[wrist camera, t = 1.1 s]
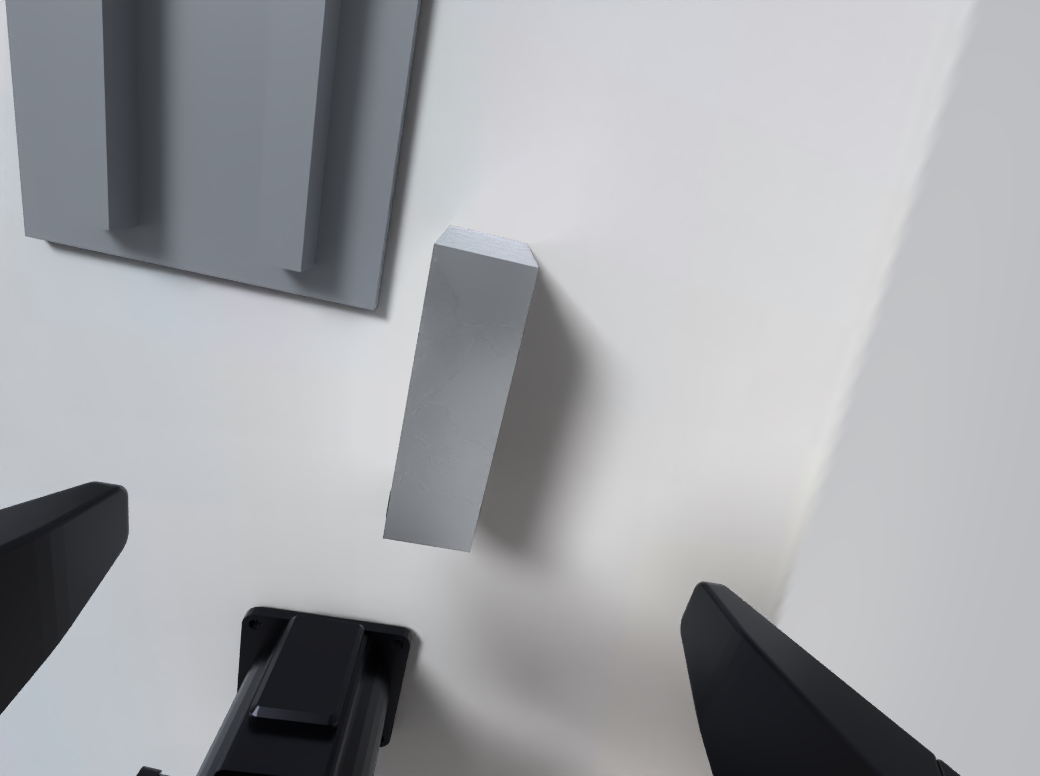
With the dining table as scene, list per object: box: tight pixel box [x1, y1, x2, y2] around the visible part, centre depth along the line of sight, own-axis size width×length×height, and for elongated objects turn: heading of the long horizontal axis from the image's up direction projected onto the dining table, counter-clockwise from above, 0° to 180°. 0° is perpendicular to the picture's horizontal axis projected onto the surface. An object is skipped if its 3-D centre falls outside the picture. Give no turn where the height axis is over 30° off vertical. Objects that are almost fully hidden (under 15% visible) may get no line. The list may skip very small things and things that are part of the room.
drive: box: [383, 225, 539, 552], centre depth 16 cm, size 8×2×5 cm, turn 167°
